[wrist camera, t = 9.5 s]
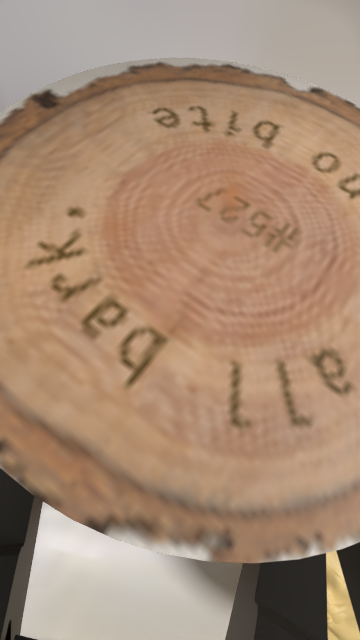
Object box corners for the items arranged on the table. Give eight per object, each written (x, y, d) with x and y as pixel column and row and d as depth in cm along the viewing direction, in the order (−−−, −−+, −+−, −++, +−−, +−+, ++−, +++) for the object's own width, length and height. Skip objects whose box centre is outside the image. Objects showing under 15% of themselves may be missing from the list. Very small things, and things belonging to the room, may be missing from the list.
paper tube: (170, 479, 24) (403, 858, 2) (107, 427, 26) (-243, 242, 3) (215, 410, 27) (549, 196, 4) (156, 366, 28) (170, 13, 5)
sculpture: (215, 550, 33) (240, 592, 24) (274, 462, 38) (316, 467, 28) (298, 637, 31) (366, 725, 21) (351, 533, 35) (428, 566, 25)
